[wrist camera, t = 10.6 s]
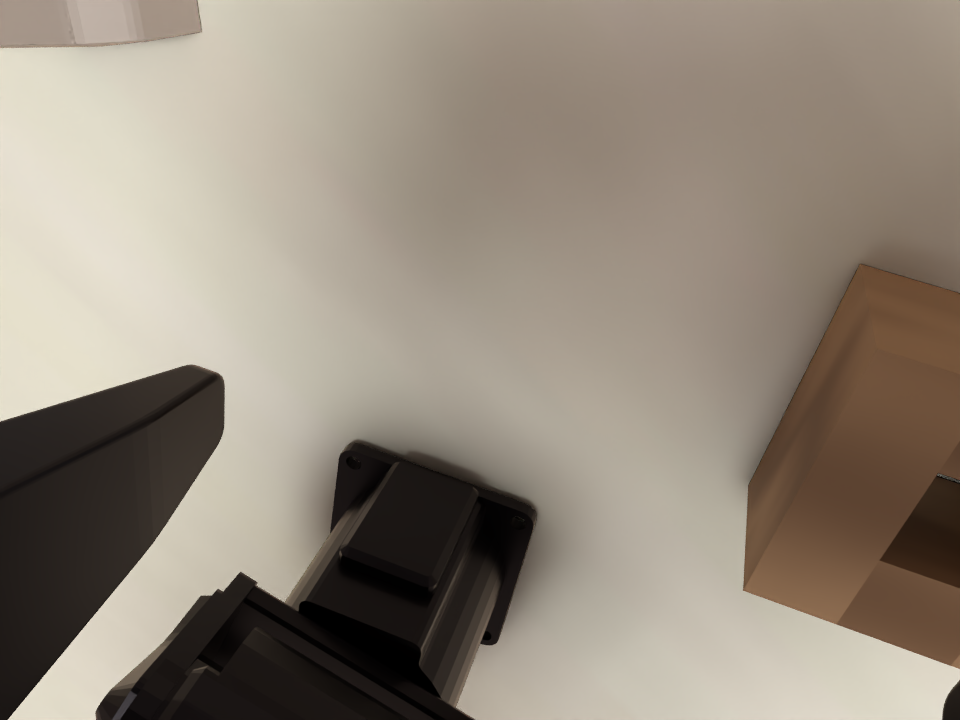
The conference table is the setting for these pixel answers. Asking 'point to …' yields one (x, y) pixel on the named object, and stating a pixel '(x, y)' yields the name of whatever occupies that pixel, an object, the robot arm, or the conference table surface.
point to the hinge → (94, 22)
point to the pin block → (869, 473)
